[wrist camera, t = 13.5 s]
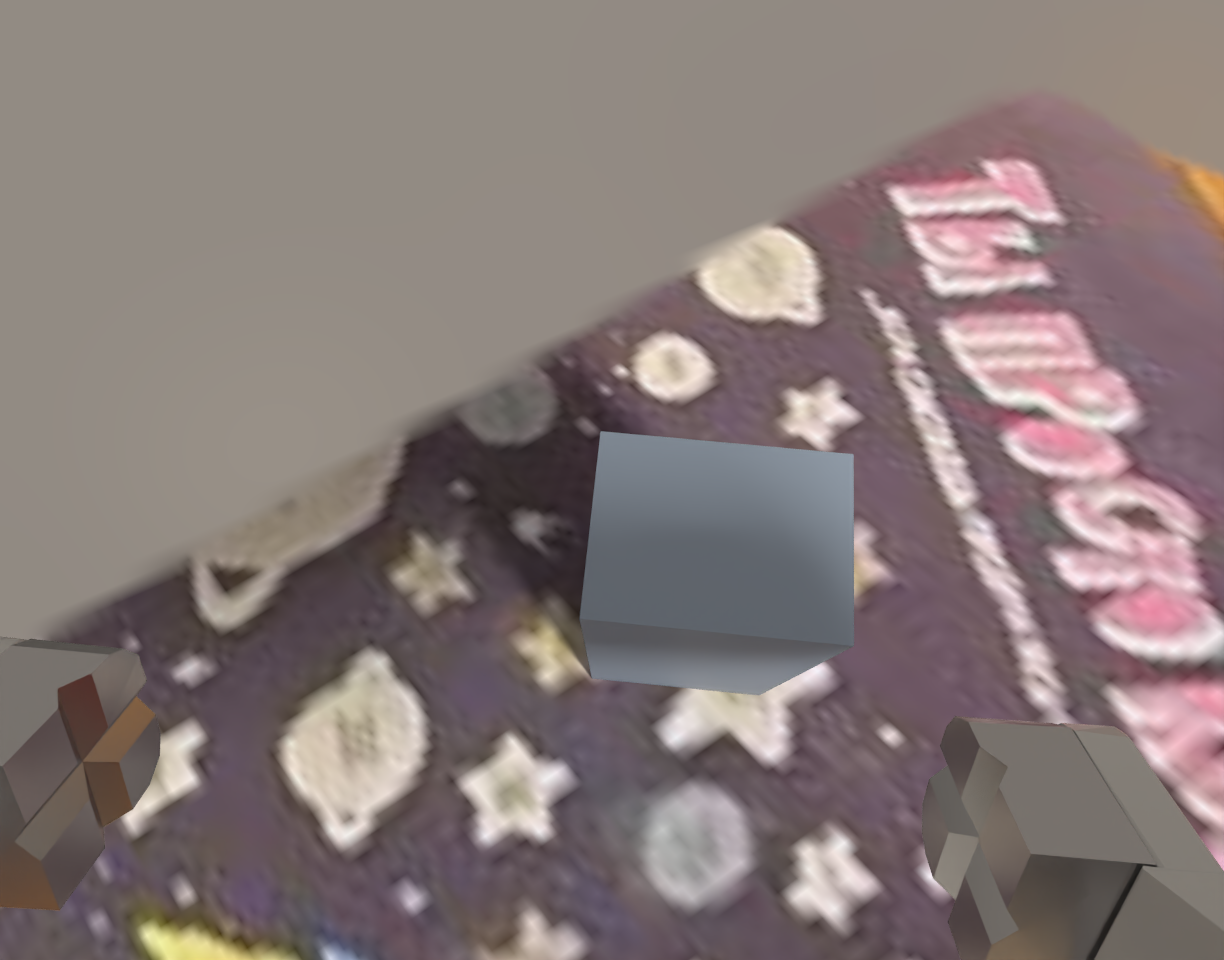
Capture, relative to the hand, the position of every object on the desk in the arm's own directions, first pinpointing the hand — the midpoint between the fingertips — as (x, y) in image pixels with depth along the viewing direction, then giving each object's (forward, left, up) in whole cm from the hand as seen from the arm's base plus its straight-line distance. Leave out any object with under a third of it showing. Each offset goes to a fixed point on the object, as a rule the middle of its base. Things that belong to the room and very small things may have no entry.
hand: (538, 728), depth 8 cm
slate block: (+4, -1, -11) cm, 12 cm away
